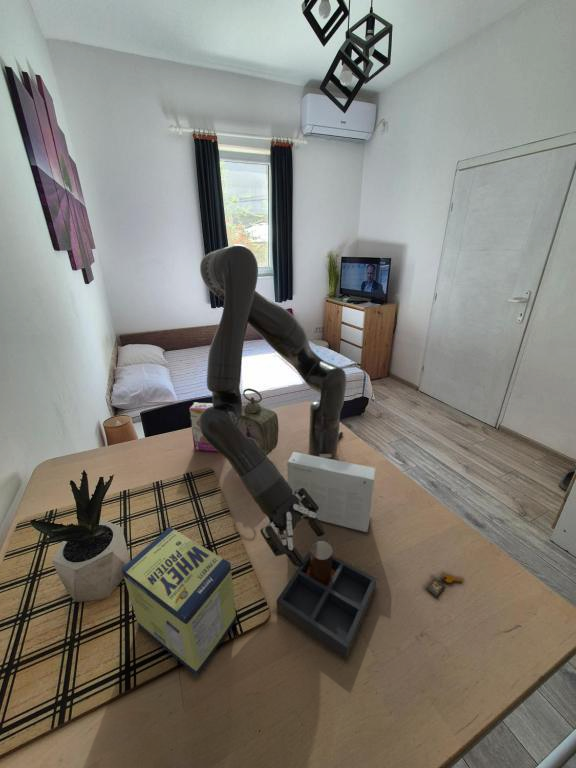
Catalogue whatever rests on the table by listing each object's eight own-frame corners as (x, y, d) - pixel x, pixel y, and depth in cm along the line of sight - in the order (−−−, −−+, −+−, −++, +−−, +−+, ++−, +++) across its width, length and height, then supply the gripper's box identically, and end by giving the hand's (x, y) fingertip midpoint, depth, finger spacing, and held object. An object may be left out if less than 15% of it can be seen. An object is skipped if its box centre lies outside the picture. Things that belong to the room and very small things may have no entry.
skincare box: (369, 517, 84) (376, 467, 78) (367, 533, 79) (374, 482, 73) (292, 497, 90) (293, 450, 84) (286, 512, 86) (286, 462, 79)
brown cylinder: (315, 563, 71) (317, 537, 68) (334, 574, 69) (336, 547, 66) (305, 579, 68) (306, 552, 64) (324, 591, 65) (326, 563, 62)
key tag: (434, 598, 65) (435, 596, 65) (422, 585, 67) (423, 583, 67) (462, 580, 68) (463, 578, 68) (450, 568, 71) (450, 567, 70)
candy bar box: (193, 451, 110) (188, 408, 104) (199, 442, 115) (193, 401, 108) (226, 453, 109) (222, 410, 103) (229, 444, 114) (226, 403, 107)
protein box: (179, 579, 68) (169, 525, 62) (238, 619, 61) (232, 562, 55) (136, 626, 60) (118, 568, 54) (197, 678, 53) (186, 618, 47)
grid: (313, 556, 74) (313, 545, 72) (374, 590, 66) (376, 578, 65) (276, 611, 62) (276, 599, 61) (346, 660, 55) (347, 647, 54)
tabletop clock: (230, 457, 107) (224, 388, 97) (247, 444, 114) (243, 378, 104) (265, 472, 100) (263, 400, 90) (281, 457, 107) (281, 388, 97)
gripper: (254, 500, 60) (306, 574, 59) (294, 460, 71) (339, 522, 70) (234, 510, 65) (282, 578, 64) (275, 471, 76) (316, 529, 75)
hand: (312, 549), depth 67 cm, fingers open, 8 cm apart
